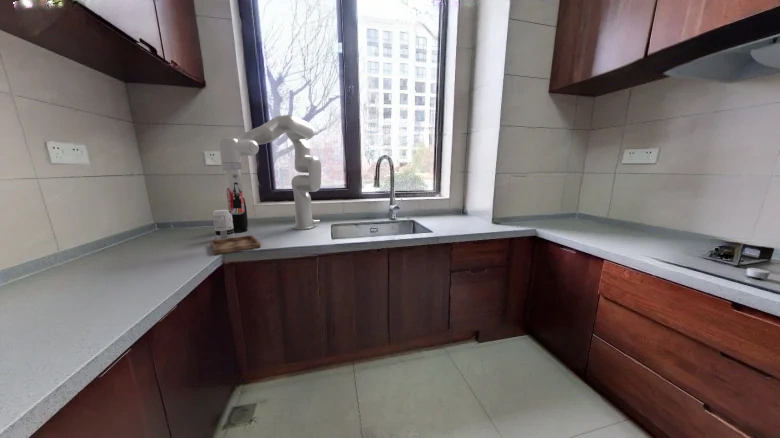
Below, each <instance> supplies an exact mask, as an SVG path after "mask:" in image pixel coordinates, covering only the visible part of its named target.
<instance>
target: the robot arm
mask: <svg viewBox="0 0 780 438" xmlns="http://www.w3.org/2000/svg"><path fill="white" fill-rule="evenodd" d="M283 134H286V136H287V137H288V139H289V140H290V141H291V143H292V144H293V146H294V169H295V170H296V172H298V173H301V174H298V175H295V176H293V177H292V179H291V188H292V191H293V192H292V193H293V199H294V200H293V201H294V210H295V211H294V212H295V213H294V214H295V216H294V217H295V225H293V229H294V230H300V231H301V230H310V229H311V230H312V229H314V228H315V227H316V224H320V223H321V221H320V219H313V213H312V212H313V211H312V210H313V209H312V208H313V207H312V198H311V197H312V196H311V194H310V193H309V192H311V193H316V192H318V191H319V190H320V188H321V186H322V185H321V184H322V162H321V160H320V159H319V158H318V157H317V156H313V155H311V148H310V145H309V143H308V141H307V140H310V139H312V138H313V137H314V135H315V129H314V127H313V125H311V123H309V122H307V121H305V120H303V119H302V118H300V117H297V116H296V115H292V114H287V115H286V114H285V115H278V116H277V115H276V116H275V117H273V118H272V119H270V120H269V121H267V122H265V123H263V124H262V125H260V126H258V127H255V128H252V129H250V130H248V131H245V132H243V133H241V134H239V135H237V136H236V137H220V138H219V140H218V143H219V152H220V153H219V154H220V160H221V170H222V171H225V181H226V189H227V188H229V189H230V192H231V193H233V208H234V209H235V208H242V205H241V198H240V192H239V189H240V191H242V192H243V193H244V187H243V180H242V174H241V171H242V170H243V169H242V168H243V167H242V156H243V157H252V156H255V155H257V154H258V153H259V150H260V147H259V145H266V144H268V143H272V142H274V140H275V141H276V139H278V138H279V137H281V136H282V135H283ZM302 173H303V174H302ZM304 173H305V174H304ZM234 190H235V192H233V191H234Z"/></svg>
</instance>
